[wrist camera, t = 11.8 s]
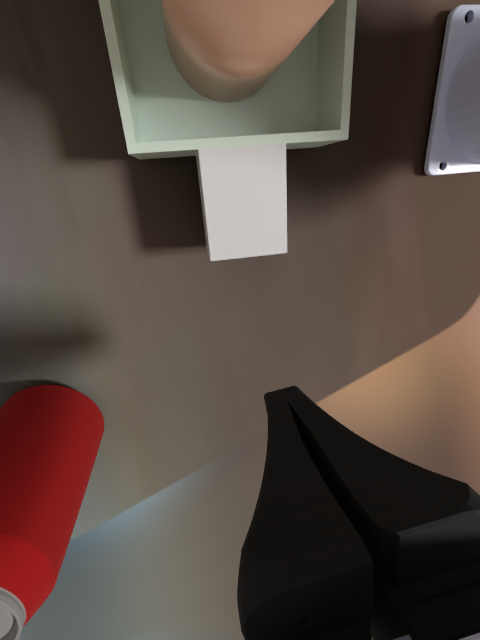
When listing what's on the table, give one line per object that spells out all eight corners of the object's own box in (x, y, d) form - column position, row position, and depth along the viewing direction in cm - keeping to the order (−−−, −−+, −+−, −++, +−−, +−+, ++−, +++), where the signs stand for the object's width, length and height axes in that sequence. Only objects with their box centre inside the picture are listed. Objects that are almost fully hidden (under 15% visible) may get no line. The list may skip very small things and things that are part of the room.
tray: (323, -108, 14) (369, -204, 10) (314, 235, 20) (341, 246, 17) (89, -116, 13) (55, -225, 9) (156, 252, 19) (150, 267, 16)
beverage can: (-19, 403, 21) (-230, 634, 10) (70, 361, 21) (-50, 552, 10) (46, 464, 24) (-66, 695, 13) (125, 428, 24) (76, 632, 13)
